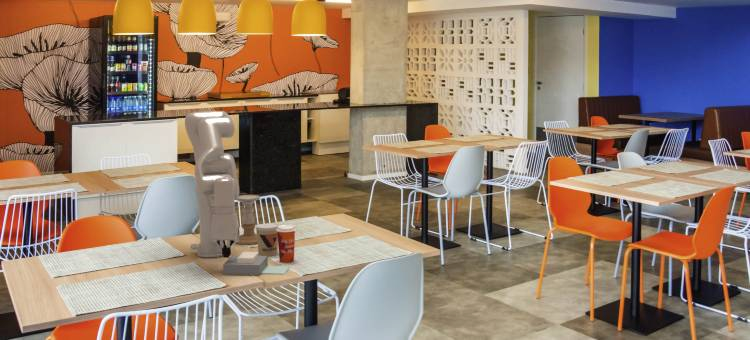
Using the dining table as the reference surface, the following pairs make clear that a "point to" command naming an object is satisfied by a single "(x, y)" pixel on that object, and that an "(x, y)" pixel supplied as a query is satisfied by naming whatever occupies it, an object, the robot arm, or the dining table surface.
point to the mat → (275, 270)
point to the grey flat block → (244, 266)
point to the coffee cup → (267, 239)
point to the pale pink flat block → (248, 257)
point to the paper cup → (286, 242)
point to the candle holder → (248, 220)
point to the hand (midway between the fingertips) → (226, 256)
